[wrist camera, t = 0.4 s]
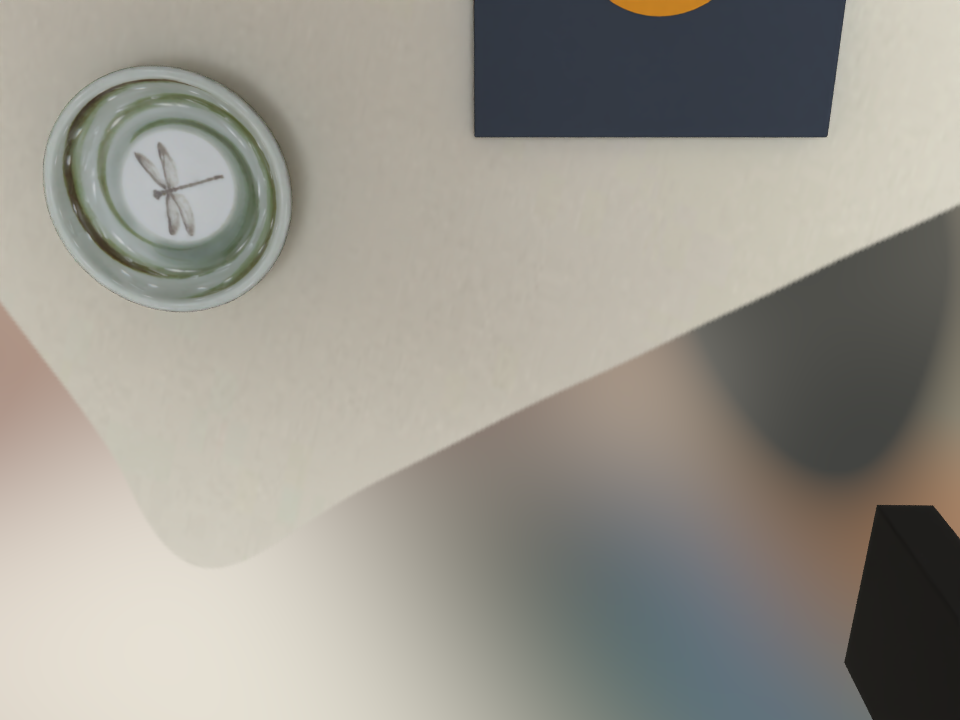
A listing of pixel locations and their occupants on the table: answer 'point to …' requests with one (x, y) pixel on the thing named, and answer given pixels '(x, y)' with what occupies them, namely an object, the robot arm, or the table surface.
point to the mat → (655, 67)
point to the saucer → (167, 188)
